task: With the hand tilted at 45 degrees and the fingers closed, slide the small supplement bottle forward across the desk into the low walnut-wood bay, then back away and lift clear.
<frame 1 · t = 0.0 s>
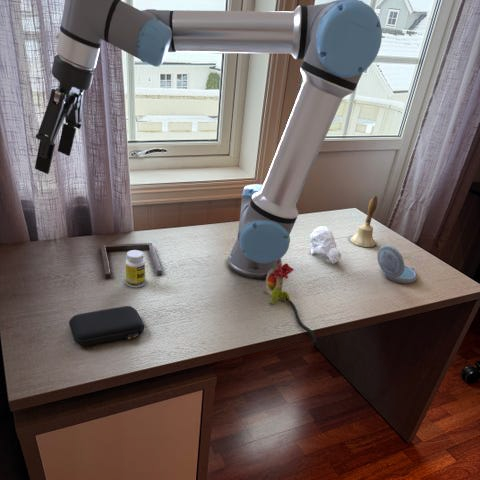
hand: (53, 161, 99), 28 cm above the table, tool tilted 20°, fingers open, 13 cm apart
bird rattle: (273, 298, 115), on the table
carrying case: (108, 332, 96), on the table
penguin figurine: (324, 257, 138), on the table
pocket watch: (397, 276, 133), on the table
supplement bottle: (135, 283, 114), on the table
bay: (130, 260, 123), on the table
hand bell: (362, 242, 150), on the table
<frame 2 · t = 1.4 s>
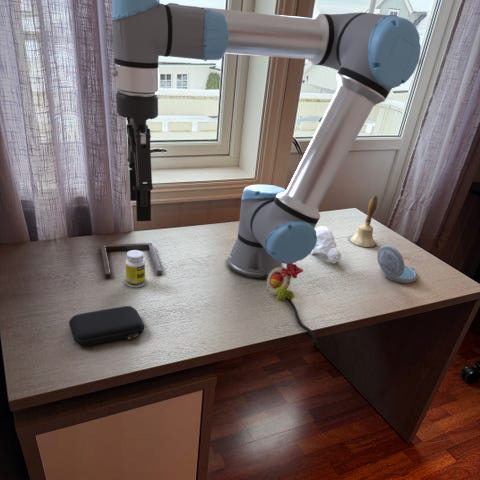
hand: (140, 209, 93), 24 cm above the table, tool pointing down, fingers open, 10 cm apart
bird rattle: (273, 297, 115), on the table, touching arm
everything else where it was.
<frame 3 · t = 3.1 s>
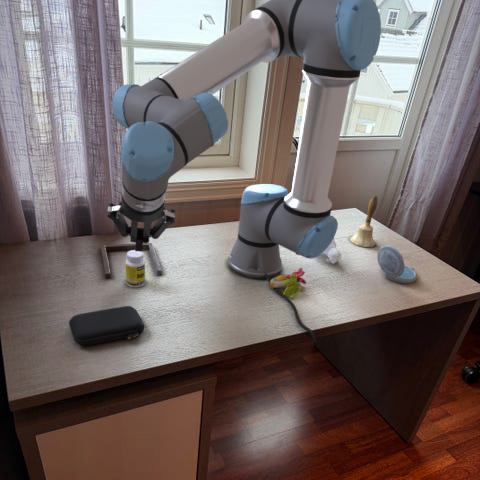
hand: (138, 245, 100), 14 cm above the table, tool tilted 40°, fingers closed
bird rattle: (277, 287, 115), point 2 cm above the table
everything else where it was.
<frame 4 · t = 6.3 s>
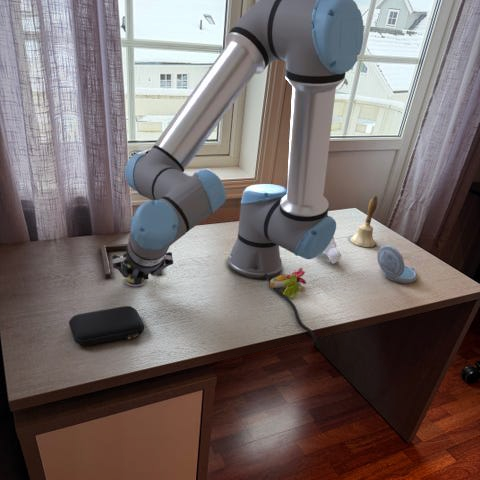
hand: (136, 279, 110), 3 cm above the table, tool tilted 45°, fingers closed
supplement bottle: (135, 282, 114), on the table, touching gripper
everything else where it was.
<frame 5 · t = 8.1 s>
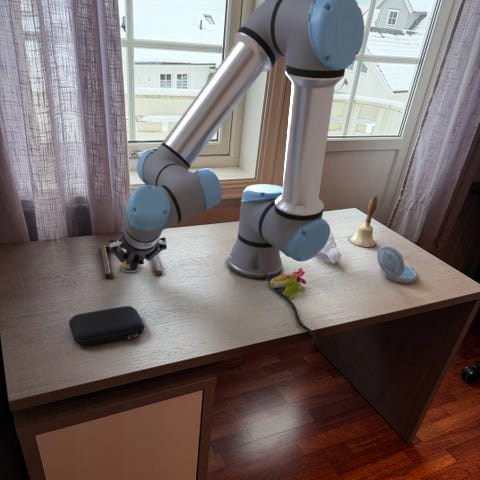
hand: (132, 264, 115), 3 cm above the table, tool tilted 45°, fingers closed
supplement bottle: (130, 269, 119), on the table, touching gripper
everything else where it was.
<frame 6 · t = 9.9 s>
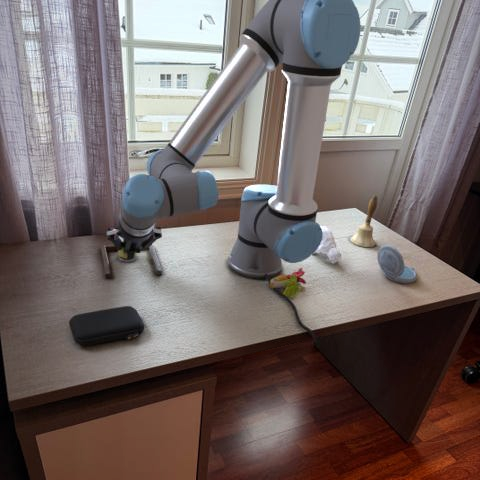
hand: (129, 253, 119), 3 cm above the table, tool tilted 45°, fingers closed
supplement bottle: (127, 258, 124), on the table, touching gripper
everything else where it was.
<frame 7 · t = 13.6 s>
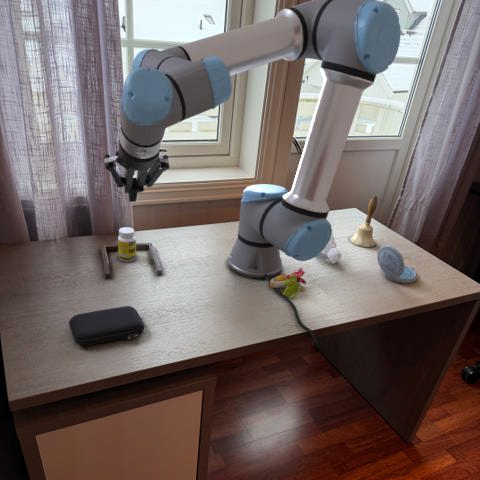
hand: (131, 196, 103), 22 cm above the table, tool tilted 45°, fingers closed
supplement bottle: (127, 258, 124), on the table
everything else where it was.
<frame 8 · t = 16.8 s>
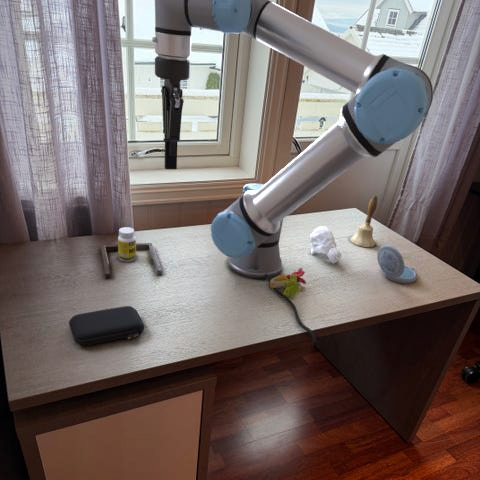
hand: (170, 168, 109), 26 cm above the table, tool pointing down, fingers closed
nothing on the table moved.
at the end: supplement bottle inside the target area on the bay (1.3 cm from its centre), point 0.0 cm above the bay's base; supplement bottle tilted 0°; supplement bottle moved 13.5 cm from its start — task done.
